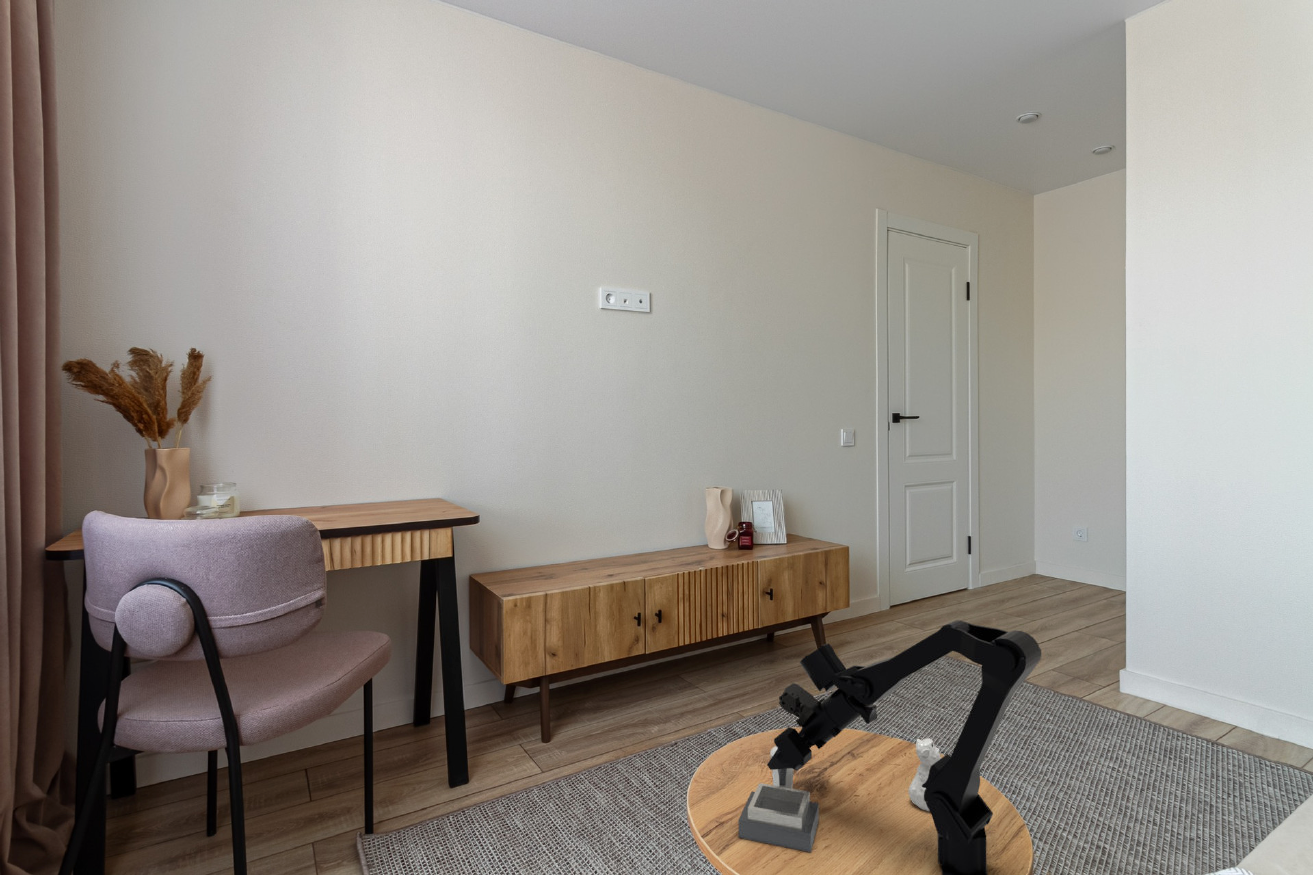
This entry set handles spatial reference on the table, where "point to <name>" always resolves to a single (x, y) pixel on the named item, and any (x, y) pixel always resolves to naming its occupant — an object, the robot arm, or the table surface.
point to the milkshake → (782, 774)
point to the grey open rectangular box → (780, 817)
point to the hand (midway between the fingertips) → (779, 757)
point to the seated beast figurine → (923, 770)
